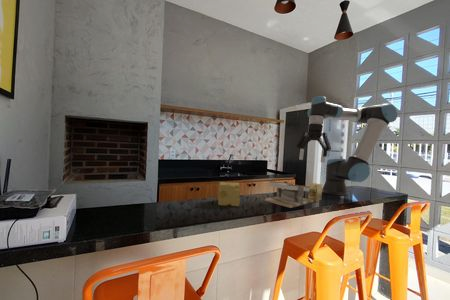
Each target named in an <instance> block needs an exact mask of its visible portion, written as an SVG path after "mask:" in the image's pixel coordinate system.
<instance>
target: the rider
mask: <svg viewBox="0 0 450 300" xmlns="http://www.w3.org/2000/svg"><path fill="white" fill-rule="evenodd" d="M308 186H309V187H310V190H309V191H307V193H308V195H307V199H310V200H313V202H319V201H322V194H323V192H322V189H323V184H322V183H315V182H311V183H308Z"/></svg>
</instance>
